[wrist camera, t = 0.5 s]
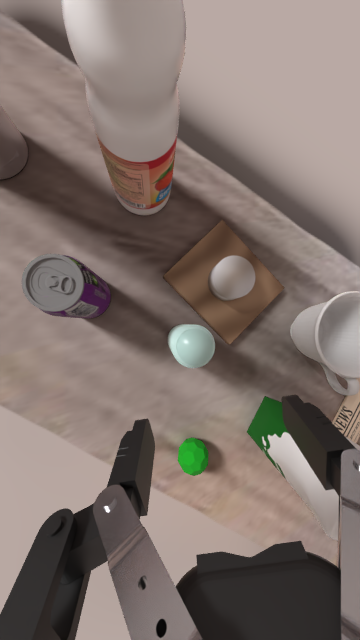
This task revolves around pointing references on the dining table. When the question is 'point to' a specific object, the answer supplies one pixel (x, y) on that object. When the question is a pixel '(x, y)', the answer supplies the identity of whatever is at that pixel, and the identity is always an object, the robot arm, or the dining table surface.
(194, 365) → the pale green cylinder
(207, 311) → the stud base
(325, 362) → the teacup
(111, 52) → the strawberry yogurt bottle
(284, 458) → the milk carton
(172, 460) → the dining table surface
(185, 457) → the polyhedron
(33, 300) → the beverage can
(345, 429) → the newspaper
